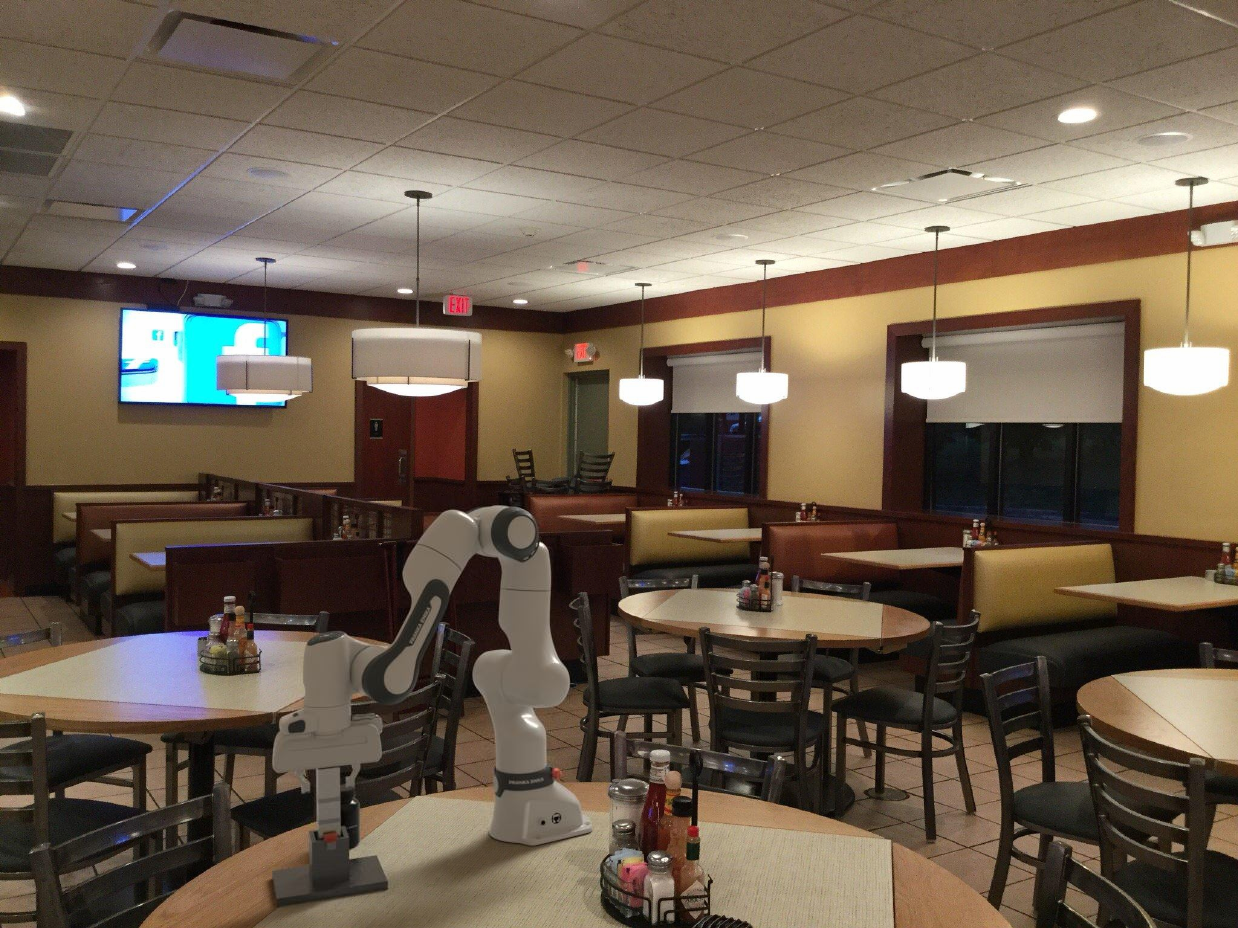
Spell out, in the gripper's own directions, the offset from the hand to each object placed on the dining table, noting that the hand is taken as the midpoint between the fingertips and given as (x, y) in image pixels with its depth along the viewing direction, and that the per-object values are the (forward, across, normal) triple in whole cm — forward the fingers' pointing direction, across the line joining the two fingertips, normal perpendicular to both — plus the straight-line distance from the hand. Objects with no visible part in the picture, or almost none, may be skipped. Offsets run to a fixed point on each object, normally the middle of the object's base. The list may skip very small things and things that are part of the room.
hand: (328, 789), depth 196 cm
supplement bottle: (+18, -5, -20) cm, 28 cm away
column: (+11, 0, 0) cm, 11 cm away
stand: (+18, 0, 0) cm, 18 cm away
